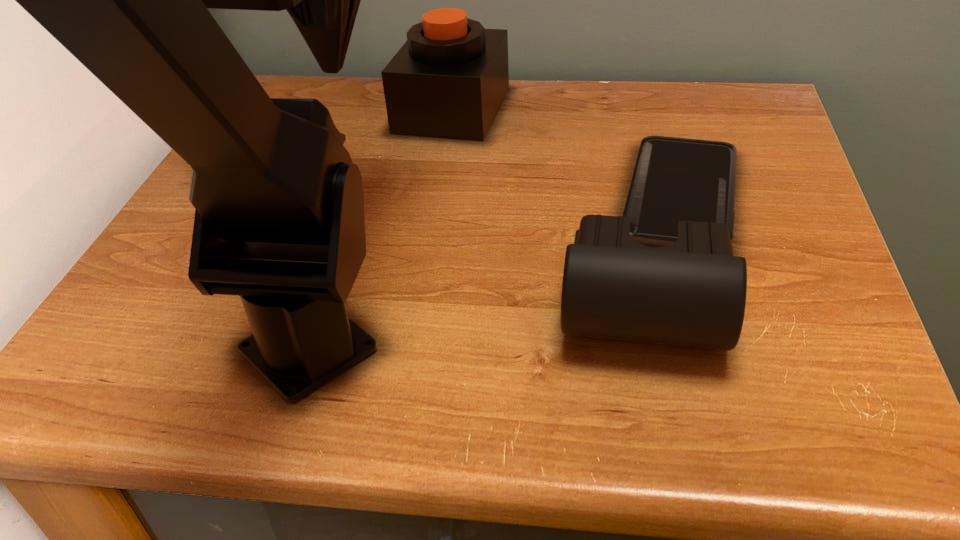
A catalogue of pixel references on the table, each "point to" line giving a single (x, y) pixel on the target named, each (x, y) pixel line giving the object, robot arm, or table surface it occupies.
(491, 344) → the table surface
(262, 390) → the table surface
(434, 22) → the orange push button
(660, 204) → the phone
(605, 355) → the table surface
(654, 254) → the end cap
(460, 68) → the push button base
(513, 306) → the table surface
